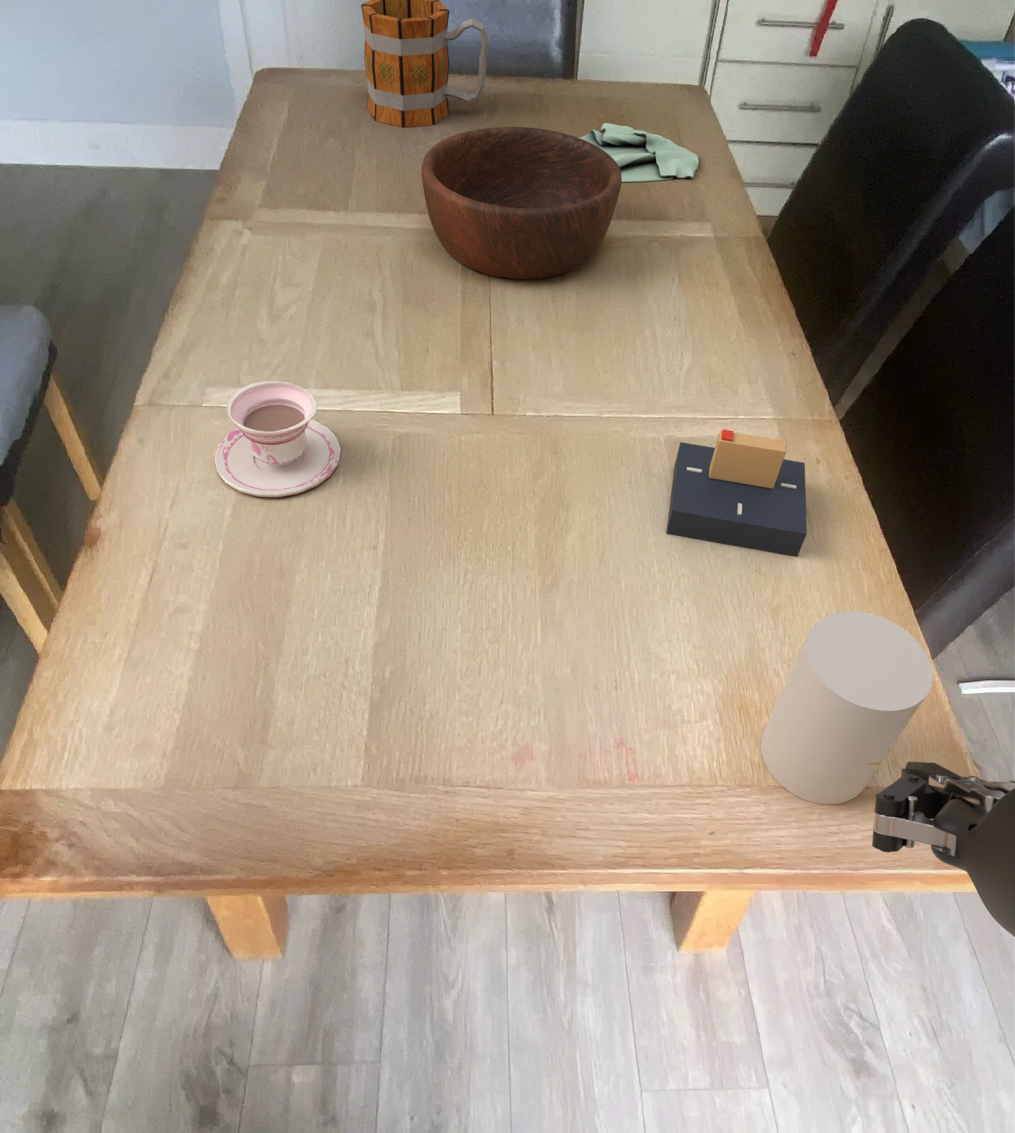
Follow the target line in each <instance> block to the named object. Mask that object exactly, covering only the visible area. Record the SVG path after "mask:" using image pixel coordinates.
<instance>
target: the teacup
mask: <svg viewBox="0 0 1015 1133" xmlns="http://www.w3.org/2000/svg"><path fill="white" fill-rule="evenodd" d="M317 409H318V403H317V400H316V398H315V397H314V395H313V394H312V393H311V392H310V391H308V390H307V389H305V388H304V387H302V386H300V385H297V384H295V383H291V382H288V381H287V382H286V381H282V380H281V381H280V380H264V381H257V382H252V383H250V384H249V383H248V384H246V385H244V386H242V387H240V388H238V389H237V390H235V391H234V392H232V394H231V395H229V396H228V400H227V402H226V413H227V416H228V417H229V419H230V420H231V422H232V424H233V425H234V426H235V429H233V430H232V431H231V432H229V433H228V434H227V435H225V437H224V438H223V439H222V440H221V441H220V443H219V444H218V446H217V448H216V449H217V450H216V452H215V455H214V463H215V470H216V473H217V475H219V477H220V478H221V479H222V481H223V482H224V483H225V484H226V485H227V486H229V487H231V488H233V489H234V490H236V491H238V492H239V493H243V494H247V495H250V496H254V497H258V498H259V497H260V498H261V497H262V498H282V497H286V496H287V497H288V496H292V495H298V494H301V493H303V492H306V491H308V490H311V489H313V488H315V487H317V486H319V485H320V484H321V483H324V481H325V480H327V479H328V478H330V477H331V476H332V475H333V473H334V472H335V470H336V468H338V466H339V464H340V461H341V460H340V459H341V455H342V449H341V448H342V447H341V446H340V442H339V439H338V436H336V434H334V432H333V431H332V430H331V429H330V428H329V427H328V426H326V425H324V424H322V423H321V422H319V421H317V420H315V419H314V417H315V415H316V413H317Z"/></svg>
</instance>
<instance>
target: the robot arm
mask: <svg viewBox="0 0 1015 1133" xmlns="http://www.w3.org/2000/svg"><path fill="white" fill-rule="evenodd" d="M874 799H875V800H874V801H875V802H874V810H873V811H874V812H873V823H872V824H873V825H872V840H871V841H872V843H871V846H872V847H873V848H874V849H876V850H878V851H881V852H883V853H897V852H899V851H901V849H902V848H906V849H913V848H915V844H916V842H917V843H919V844H920V843H921V844H925V845H929V846H930V849H931V852H932V854H933V855H934V856H935V858H936V859H937V860H939V861H941V862H942V863H944V864H946V865H949V866H952V867H955V868H957V869H960V870H961V871H964V872H965V873H966V874H967V875H968V877H969V878H970V880H971V882H972V884H973V886H974V888H975V890H976V893H977V894H978V896H979V898H980V900H981V902H982V904H983V905H984V907H985V908H986V910H987V912H988V913H989V914H990V915H991V917H992V918H993V919H994V920H995V922H996V923H997V924H998V925H999V926H1000V927H1001V928H1002V929H1004V930H1005V931H1006V932H1008V933H1009V934H1010V935H1011V936H1013V937H1014V938H1015V780H1009V781H989V780H987V781H986V780H985V779H982V778H980V777H979V776H977V775H976V776H975V775H967V776H962V775H959V774H957V773H956V772H953V771H951V770H950V769H948V768H946V767H943V766H942V765H940V764H938V763H936V762H930V761H929V762H928V761H927V762H926V761H907V762H906V764H905V768H901V774H900V777H899V778H898V779H897V780H895V781H893V782H892V783H891V784H889V785H887V787H885V788H883V789H882V790H881V791H879V792H878V793H876V794H875V798H874Z"/></svg>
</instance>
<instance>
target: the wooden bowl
mask: <svg viewBox="0 0 1015 1133" xmlns="http://www.w3.org/2000/svg"><path fill="white" fill-rule="evenodd" d="M422 159H423V160H422V163H421V180H422V181H421V182H422V188H423V194H424V199H425V204H426V209H427V213H428V217H429V220H430V224H431V226H432V229H433V232H434V233H435V236H436V237H437V239H438V241H439V242H440V244H441V245H442V247H443V249H444V250H445V251H446V252H447V254H449V255H450V257H452V258H453V259H454V260H456V261H457V262H458V263H460V264H461V265H463V266H465V267H466V268H469V269H471V270H473V271H475V272H478V273H481V274H483V275H487V276H492V277H497V278H502V279H503V278H504V279H510V280H538V279H539V280H541V279H547V278H552V277H556V276H560V275H563V274H566V273H569V272H571V271H574V270H576V268H578V267H579V266H581V265H583V264H584V263H586V262H587V261H588V259H590V258H591V256H592V255H593V254H594V253H595V252H596V251H597V249H598V248H599V246H600V245H601V244H602V241H603V240H604V238H605V236H606V234H607V232H608V230H609V228H610V226H611V222H612V219H613V217H614V213H615V210H616V206H617V203H618V200H619V197H620V192H621V188H622V184H623V182H622V177H621V171H620V168H619V166H618V164H617V163H616V161H615V160H614V159H613V158H612V157H611V156H610V155H609V154H608V153H606V152H605V151H604V150H602V149H601V148H599V147H598V146H596V145H594V144H592V143H590V142H588V141H585V140H583V139H580V137H577V136H574V135H571V134H568V133H564V132H561V131H557V130H556V131H555V130H550V129H544V128H538V127H527V126H494V127H484V128H478V129H471V130H467V131H463V132H460V133H457V134H454V135H451V136H449V137H446V138H445V139H442V140H441V141H439V142H438V143H435V145H433V146H432V147H431V148H430V149H429V150H428V151H427V152H426V153H425V155H424V156H423V158H422Z"/></svg>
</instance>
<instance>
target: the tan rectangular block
mask: <svg viewBox="0 0 1015 1133" xmlns="http://www.w3.org/2000/svg"><path fill="white" fill-rule="evenodd" d="M714 448H715V450H714V453H713V457H712V461H711V464H710V469H709V478H713V479H718V480H724V481H730V482H736V483H742V484H748V485H754V486H760V487H766V488H771V489H773V488H774V485H775V482H776V480H777V477H778V474H779V471H780V468H781V465H782V463H783V460H784V459H785V457H786V454H787V441H786V440H782V439H775V438H769V437H763V436H758V435H751V434H745V433H739V432H735V431H734V430H729V429H725V428H722V430H719V432H718V435H717V440H716V442H715V446H714Z"/></svg>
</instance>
